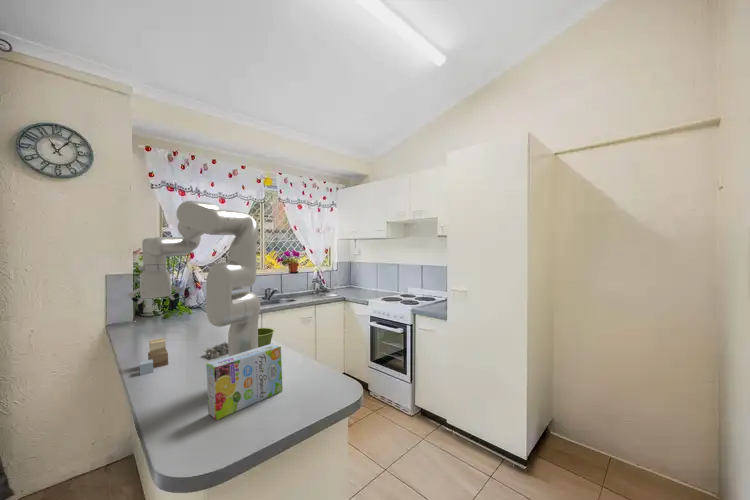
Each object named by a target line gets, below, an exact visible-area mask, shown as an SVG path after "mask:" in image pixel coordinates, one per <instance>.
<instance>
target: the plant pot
mask: <svg viewBox="0 0 750 500" xmlns="http://www.w3.org/2000/svg"><path fill="white" fill-rule="evenodd" d="M274 332H275V330H274V329H273V328H271V327H258V348H259V347H262V346H266V345H269V344H272V338H273V334H274Z"/></svg>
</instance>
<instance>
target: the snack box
mask: <svg viewBox="0 0 750 500" xmlns="http://www.w3.org/2000/svg"><path fill="white" fill-rule="evenodd" d="M282 363H283V362H282V346H281V345H278V344H275V343H271V344H269V345H266V346H262V347H259V348H256V349H252V350H249V351H246V352H243V353H239V354H236V355H233V356H229V355H228V356H226V357H224V358H220V359H217V360H212V361H210V362H207V363H206V365H205V366H206V387H207V406H208V407H207V411H208V415H209V416H210V417H212V418H213V419H214V420H215V421H218V420H220V419H222V418H225V417H226V416H229V415H231V414H233V413H235V412H238V411H240V410H243V409H245V408H247V407H249V406H253V404H256V403H259V402H260V401H263V400H266V399H267V398H269V397H272V396H274V395H276V394H278V393H281V392H283V369H282V366H283V365H282Z"/></svg>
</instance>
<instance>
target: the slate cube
mask: <svg viewBox="0 0 750 500" xmlns="http://www.w3.org/2000/svg"><path fill="white" fill-rule="evenodd" d="M153 373H154V368H153V359H151V360H148V359H146V360H141V361H139V375H140V376H144V375H148V374H153Z"/></svg>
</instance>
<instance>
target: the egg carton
mask: <svg viewBox="0 0 750 500" xmlns="http://www.w3.org/2000/svg"><path fill="white" fill-rule="evenodd" d="M203 352H205V358H210V359H211V360H212V359H219V358H220V357H222V356H226V355H227V354H228V342H225V341H224V342H222V343H220V344H218V345H217V344H216V345H215V346H212V347H211V346H210V347H206V348H205V349H204V351H203Z"/></svg>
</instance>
